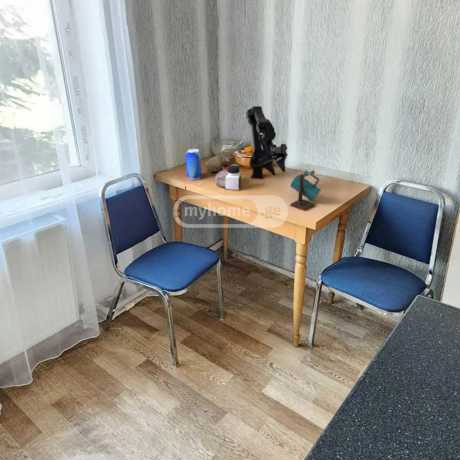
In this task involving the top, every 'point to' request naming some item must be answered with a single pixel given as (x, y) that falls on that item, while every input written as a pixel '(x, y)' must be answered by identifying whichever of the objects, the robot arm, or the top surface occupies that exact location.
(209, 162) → the brown rounded lump
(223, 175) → the food item
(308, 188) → the mug
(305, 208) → the mug stand
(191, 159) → the beer can
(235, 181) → the medicine bottle
